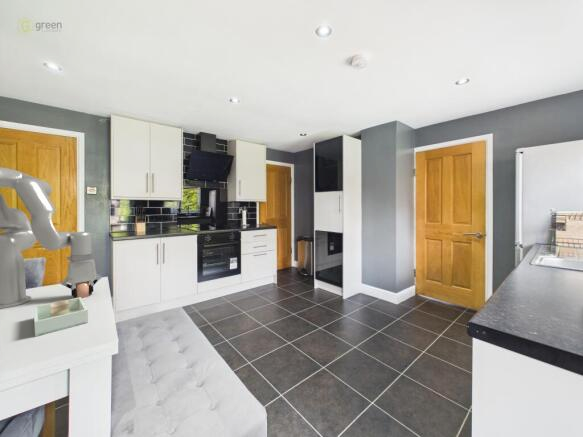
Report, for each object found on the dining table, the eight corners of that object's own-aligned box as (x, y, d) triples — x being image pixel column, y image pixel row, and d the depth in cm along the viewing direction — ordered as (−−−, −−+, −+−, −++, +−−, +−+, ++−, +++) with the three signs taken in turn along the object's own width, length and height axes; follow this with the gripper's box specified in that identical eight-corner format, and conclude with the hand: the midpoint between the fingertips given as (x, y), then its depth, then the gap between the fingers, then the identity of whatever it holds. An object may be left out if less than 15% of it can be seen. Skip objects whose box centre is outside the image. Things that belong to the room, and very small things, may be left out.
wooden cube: (51, 320, 91) (50, 307, 91) (50, 316, 94) (50, 303, 94) (69, 316, 95) (68, 303, 94) (68, 312, 98) (67, 299, 98)
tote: (34, 319, 93) (34, 306, 93) (81, 308, 103) (80, 297, 102) (35, 336, 81) (34, 322, 81) (87, 322, 91) (87, 309, 91)
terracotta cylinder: (72, 297, 114) (72, 283, 114) (84, 294, 119) (83, 280, 119) (81, 298, 113) (80, 284, 113) (92, 295, 118) (91, 280, 118)
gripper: (57, 262, 106) (58, 302, 107) (105, 256, 119) (106, 292, 120) (55, 259, 112) (57, 298, 113) (102, 254, 124) (103, 289, 125)
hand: (82, 295), depth 116 cm, fingers open, 5 cm apart
